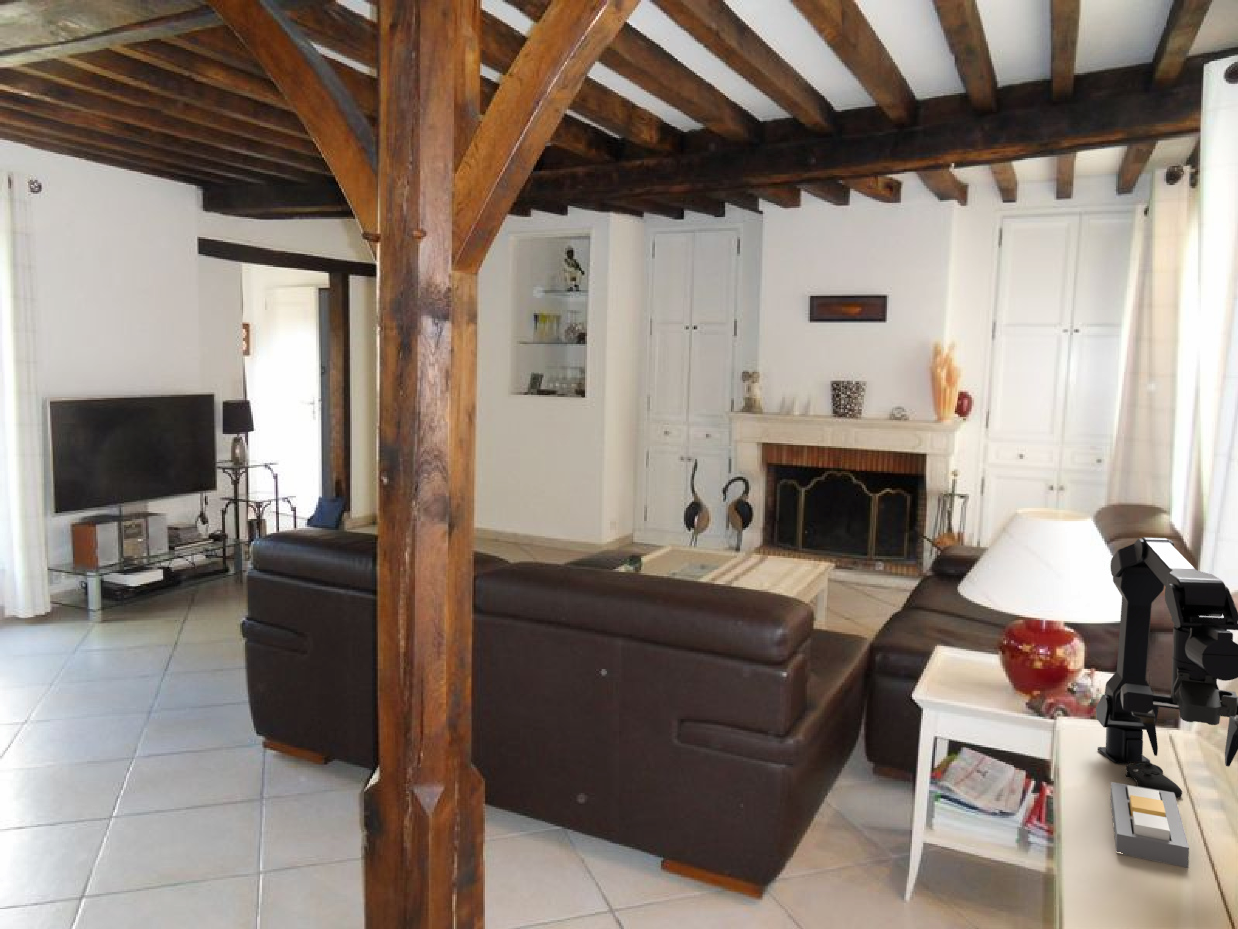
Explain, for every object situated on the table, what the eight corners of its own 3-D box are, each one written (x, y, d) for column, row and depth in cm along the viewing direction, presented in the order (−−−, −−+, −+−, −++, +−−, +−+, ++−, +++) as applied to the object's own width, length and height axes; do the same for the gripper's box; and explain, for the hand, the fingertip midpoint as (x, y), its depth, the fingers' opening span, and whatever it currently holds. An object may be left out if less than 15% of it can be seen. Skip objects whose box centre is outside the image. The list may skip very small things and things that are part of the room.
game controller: (1187, 795, 146) (1160, 769, 146) (1161, 815, 147) (1134, 789, 147) (1163, 770, 155) (1138, 746, 156) (1139, 789, 156) (1114, 765, 157)
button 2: (1132, 824, 133) (1132, 811, 133) (1166, 830, 131) (1166, 817, 131) (1134, 837, 129) (1134, 824, 129) (1169, 844, 127) (1169, 830, 127)
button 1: (1126, 797, 144) (1127, 785, 144) (1158, 802, 142) (1158, 790, 142) (1128, 808, 140) (1129, 796, 140) (1160, 814, 138) (1161, 802, 138)
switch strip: (1110, 799, 146) (1111, 782, 146) (1173, 810, 142) (1174, 792, 142) (1116, 853, 129) (1117, 834, 129) (1188, 867, 125) (1189, 847, 125)
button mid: (1129, 807, 138) (1130, 795, 138) (1162, 812, 136) (1162, 800, 136) (1131, 819, 134) (1132, 807, 134) (1164, 825, 132) (1165, 812, 132)
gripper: (1127, 666, 128) (1124, 769, 129) (1283, 683, 120) (1278, 793, 121) (1121, 647, 138) (1118, 743, 139) (1265, 662, 130) (1261, 763, 131)
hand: (1190, 760), depth 132 cm, fingers open, 9 cm apart
